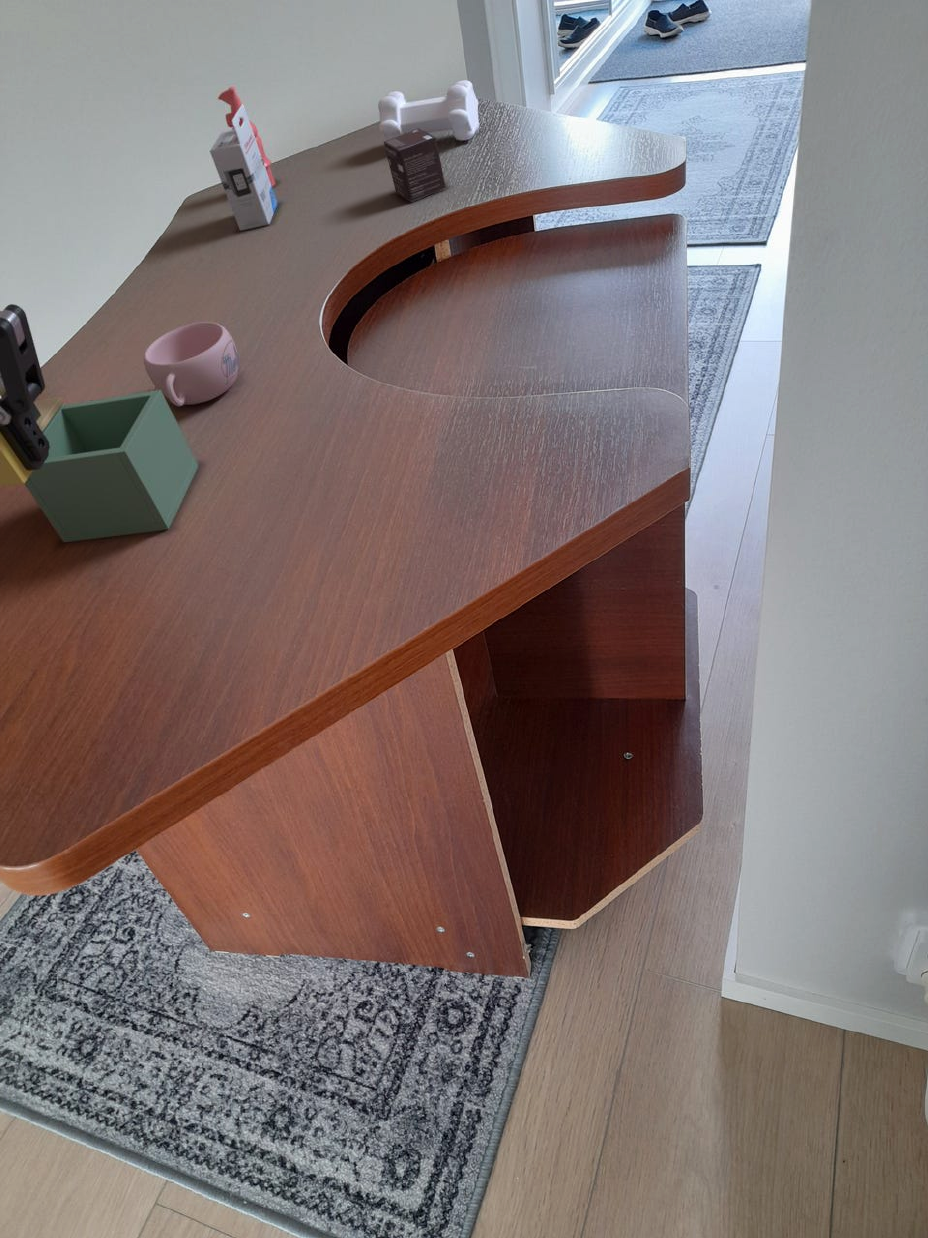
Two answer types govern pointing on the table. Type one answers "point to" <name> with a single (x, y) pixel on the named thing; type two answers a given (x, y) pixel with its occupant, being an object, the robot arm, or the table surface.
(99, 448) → the case
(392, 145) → the box
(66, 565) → the table surface
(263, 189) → the ink box
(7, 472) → the block
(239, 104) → the figurine
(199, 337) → the mug
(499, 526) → the table surface
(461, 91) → the dog bone
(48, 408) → the slide door
